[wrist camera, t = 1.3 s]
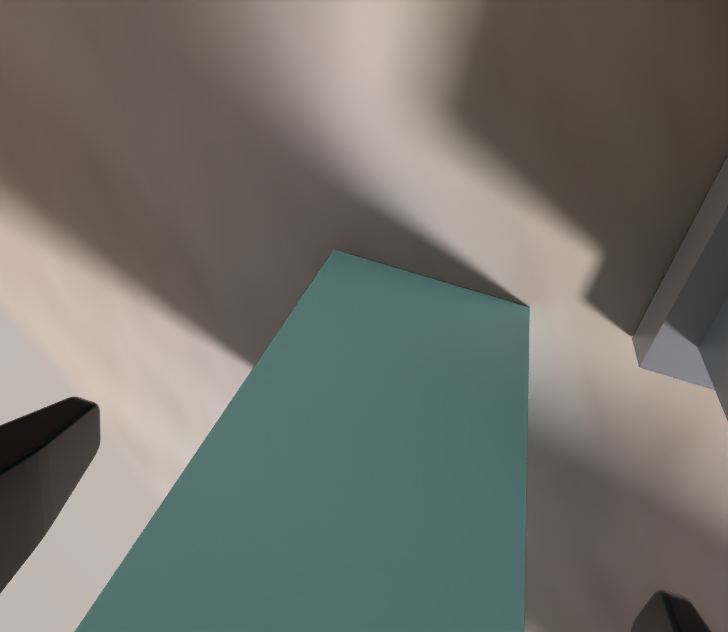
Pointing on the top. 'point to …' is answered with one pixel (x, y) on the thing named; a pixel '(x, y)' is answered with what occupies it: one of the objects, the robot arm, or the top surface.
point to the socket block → (693, 303)
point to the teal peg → (351, 475)
